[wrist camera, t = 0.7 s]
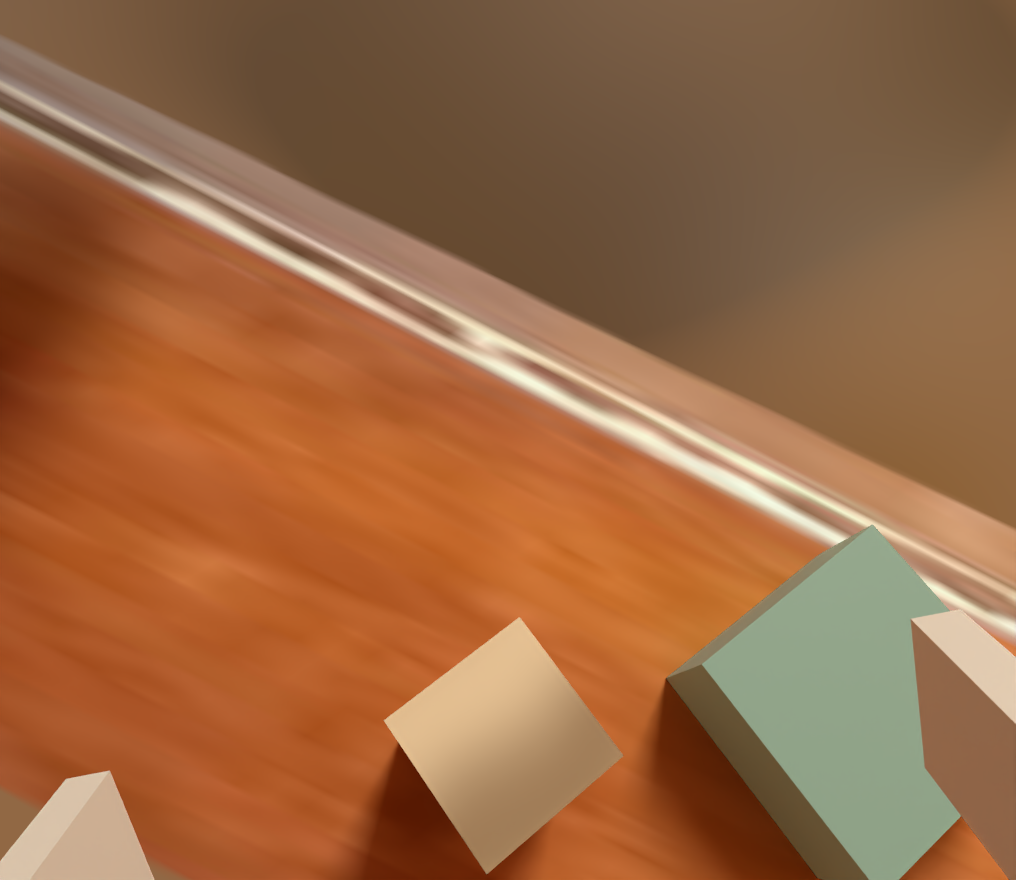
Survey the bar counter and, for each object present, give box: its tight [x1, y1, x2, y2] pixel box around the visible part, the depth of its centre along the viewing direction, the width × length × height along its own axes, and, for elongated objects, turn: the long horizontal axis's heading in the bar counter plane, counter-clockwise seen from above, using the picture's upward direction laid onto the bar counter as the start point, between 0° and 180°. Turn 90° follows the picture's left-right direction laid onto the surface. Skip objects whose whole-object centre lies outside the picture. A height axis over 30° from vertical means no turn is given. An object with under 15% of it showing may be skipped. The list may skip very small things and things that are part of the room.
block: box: [384, 617, 623, 874], centre depth 26 cm, size 4×4×11 cm
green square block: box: [666, 525, 961, 880], centre depth 31 cm, size 9×9×5 cm
